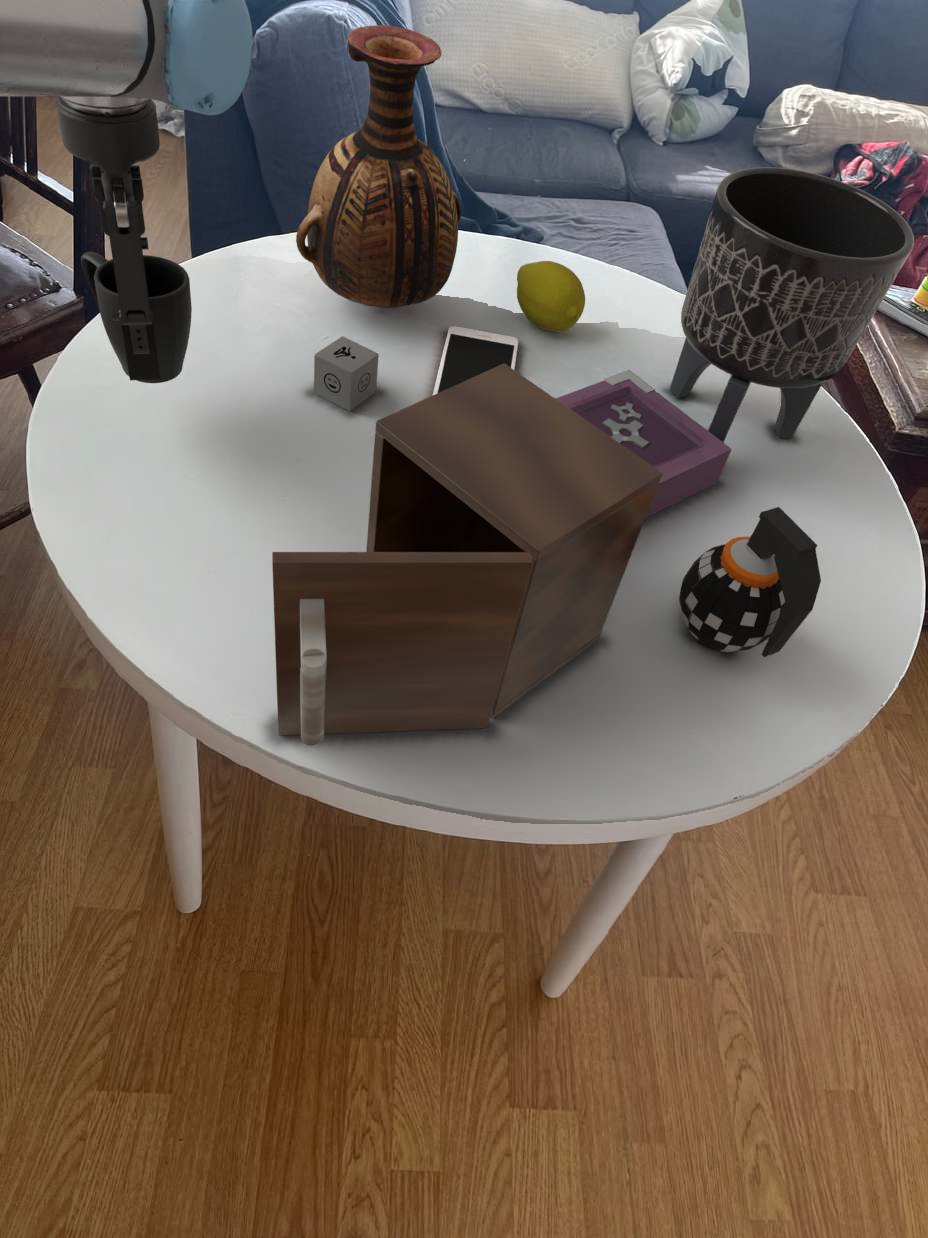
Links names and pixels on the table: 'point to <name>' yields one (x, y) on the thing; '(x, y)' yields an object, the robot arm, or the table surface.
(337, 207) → the vase
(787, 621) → the grenade
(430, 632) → the cupboard door
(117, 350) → the mug
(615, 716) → the table surface
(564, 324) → the lemon
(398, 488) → the cupboard
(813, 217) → the planter
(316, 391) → the dice cube
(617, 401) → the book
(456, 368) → the cell phone
